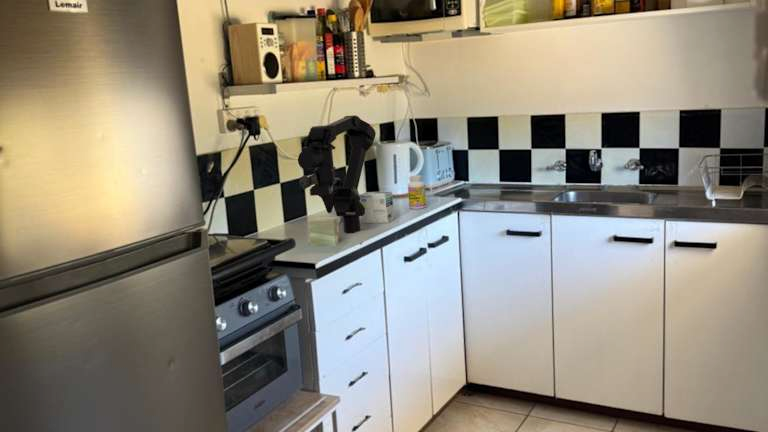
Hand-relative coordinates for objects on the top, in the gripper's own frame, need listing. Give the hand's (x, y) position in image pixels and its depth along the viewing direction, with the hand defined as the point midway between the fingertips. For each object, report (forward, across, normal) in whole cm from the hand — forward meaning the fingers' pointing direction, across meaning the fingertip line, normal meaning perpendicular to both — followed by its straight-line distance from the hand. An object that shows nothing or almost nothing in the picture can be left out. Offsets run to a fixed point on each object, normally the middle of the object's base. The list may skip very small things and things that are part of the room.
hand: (329, 212), depth 233 cm
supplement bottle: (+10, -57, +20) cm, 61 cm away
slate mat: (+9, +12, 0) cm, 15 cm away
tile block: (+9, +8, 0) cm, 12 cm away
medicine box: (+10, -37, -8) cm, 39 cm away
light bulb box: (+10, -32, +9) cm, 35 cm away
